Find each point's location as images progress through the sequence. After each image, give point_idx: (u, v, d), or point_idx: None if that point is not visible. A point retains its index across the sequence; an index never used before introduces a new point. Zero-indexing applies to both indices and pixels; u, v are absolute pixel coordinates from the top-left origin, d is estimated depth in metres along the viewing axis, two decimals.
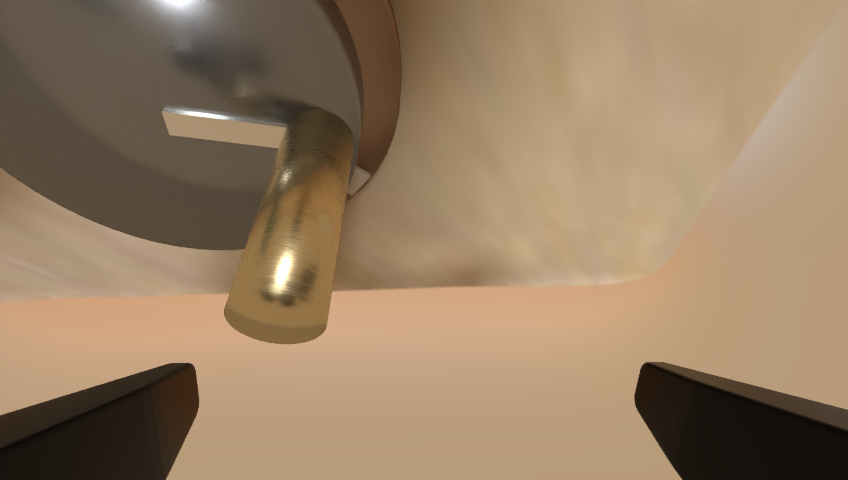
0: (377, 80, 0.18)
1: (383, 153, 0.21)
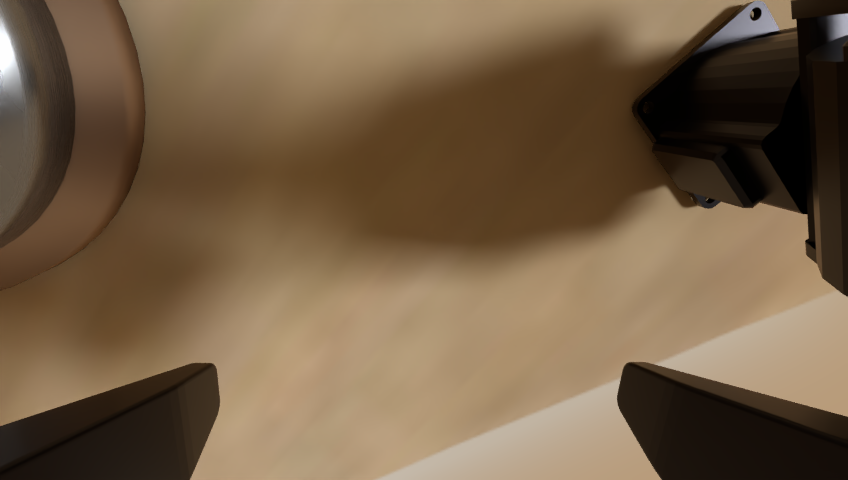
0: (1, 264, 0.18)
1: None
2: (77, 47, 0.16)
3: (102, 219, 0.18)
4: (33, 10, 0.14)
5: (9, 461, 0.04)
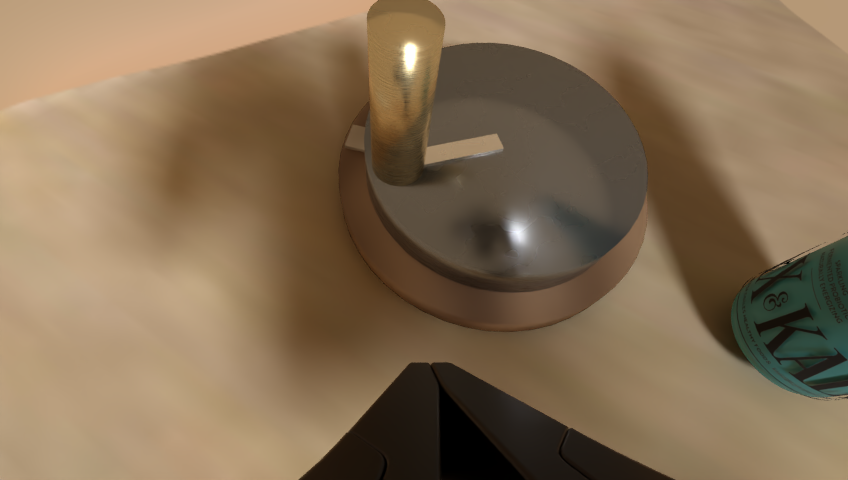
0: (367, 220, 0.23)
1: (341, 168, 0.24)
2: (533, 297, 0.22)
3: (403, 292, 0.22)
4: (558, 281, 0.21)
5: (431, 452, 0.04)
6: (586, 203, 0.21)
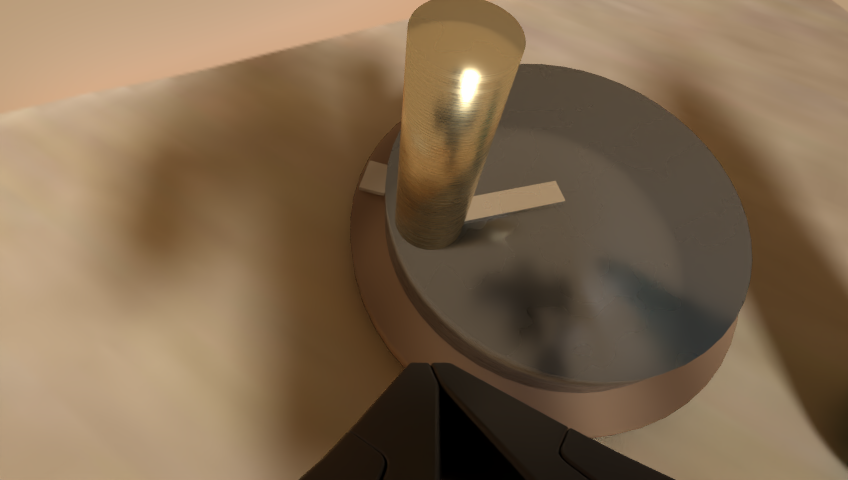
0: (385, 287, 0.18)
1: (353, 216, 0.19)
2: (602, 399, 0.17)
3: None
4: (638, 381, 0.16)
5: (431, 451, 0.04)
6: (676, 278, 0.16)
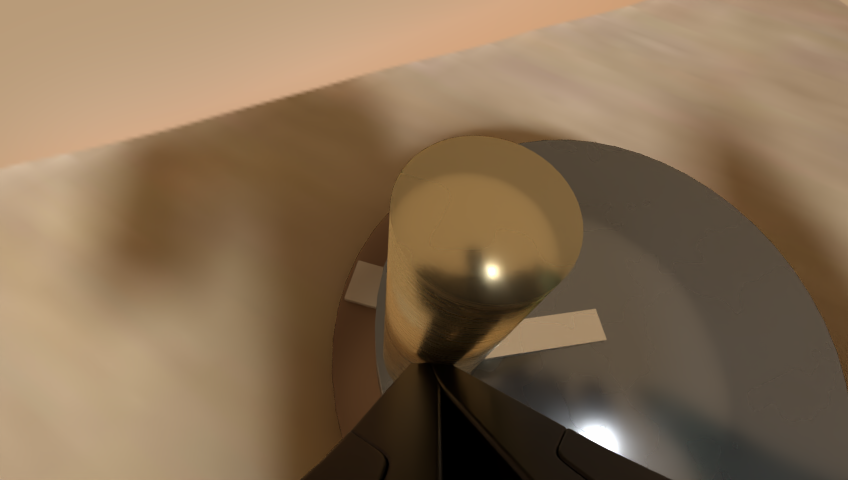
0: None
1: (337, 338, 0.15)
2: None
3: None
4: None
5: (433, 452, 0.04)
6: (748, 467, 0.12)
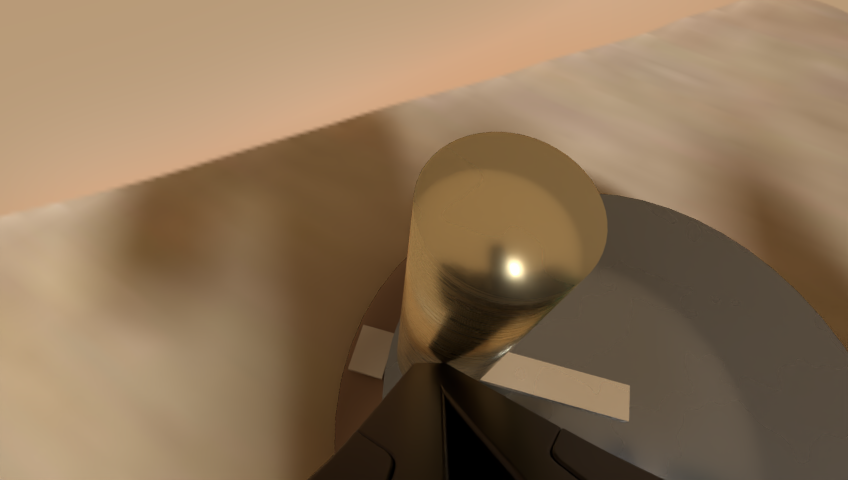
0: None
1: (340, 414, 0.14)
2: None
3: None
4: None
5: (439, 451, 0.04)
6: None
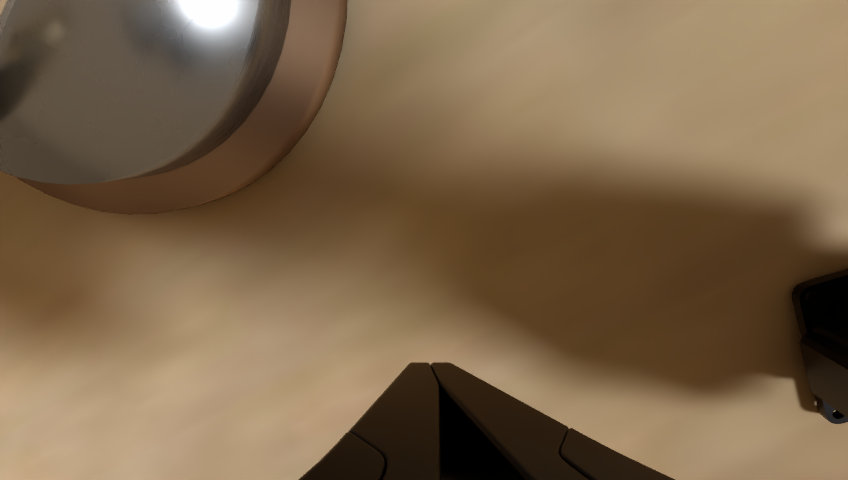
0: (131, 191, 0.18)
1: (48, 191, 0.18)
2: (297, 30, 0.16)
3: (237, 187, 0.18)
4: (248, 98, 0.15)
5: (431, 452, 0.04)
6: None
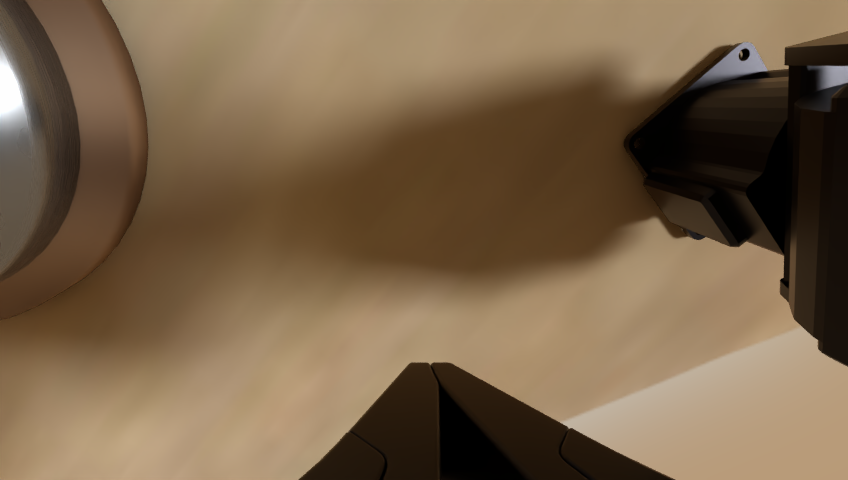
0: (6, 294, 0.18)
1: None
2: (83, 87, 0.16)
3: (105, 250, 0.18)
4: (64, 168, 0.16)
5: (431, 452, 0.04)
6: None
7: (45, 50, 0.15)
